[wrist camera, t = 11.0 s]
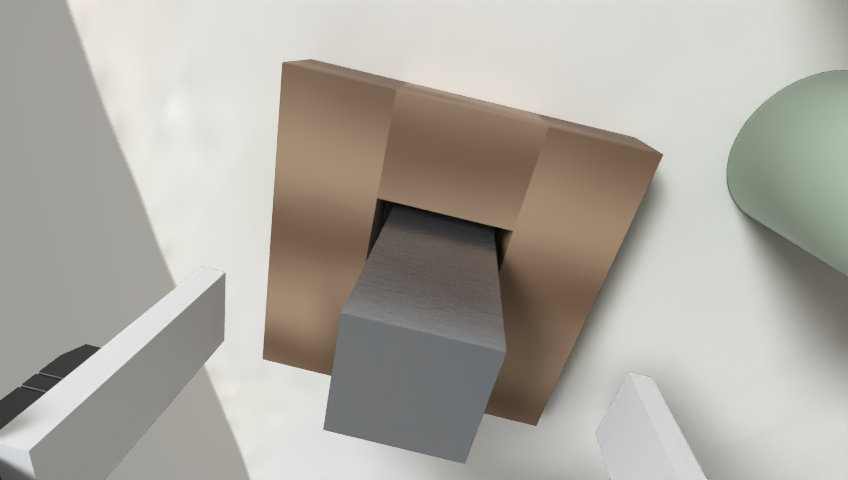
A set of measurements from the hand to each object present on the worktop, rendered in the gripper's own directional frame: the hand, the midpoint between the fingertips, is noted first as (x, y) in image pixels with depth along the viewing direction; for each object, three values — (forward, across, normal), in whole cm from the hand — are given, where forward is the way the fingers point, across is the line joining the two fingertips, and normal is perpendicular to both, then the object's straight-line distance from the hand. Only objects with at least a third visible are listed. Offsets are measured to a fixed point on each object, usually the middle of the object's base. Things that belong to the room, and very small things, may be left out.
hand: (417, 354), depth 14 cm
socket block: (+8, 0, 0) cm, 8 cm away
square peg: (+8, 0, 0) cm, 8 cm away
